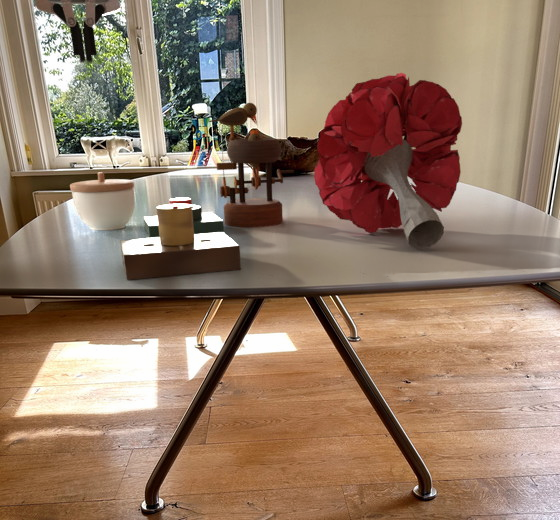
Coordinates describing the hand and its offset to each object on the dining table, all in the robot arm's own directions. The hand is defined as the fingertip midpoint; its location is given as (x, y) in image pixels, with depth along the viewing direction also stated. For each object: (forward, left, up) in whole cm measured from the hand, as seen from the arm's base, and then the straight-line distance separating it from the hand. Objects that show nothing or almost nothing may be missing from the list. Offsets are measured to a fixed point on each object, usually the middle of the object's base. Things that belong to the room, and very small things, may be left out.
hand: (86, 61), depth 81 cm
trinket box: (0, +17, -25) cm, 30 cm away
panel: (+8, -18, -25) cm, 32 cm away
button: (+12, +7, -22) cm, 26 cm away
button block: (+12, +7, -25) cm, 29 cm away
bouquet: (+42, -9, -25) cm, 50 cm away
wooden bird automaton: (+26, +11, -25) cm, 38 cm away
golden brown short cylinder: (+8, -18, -22) cm, 30 cm away
